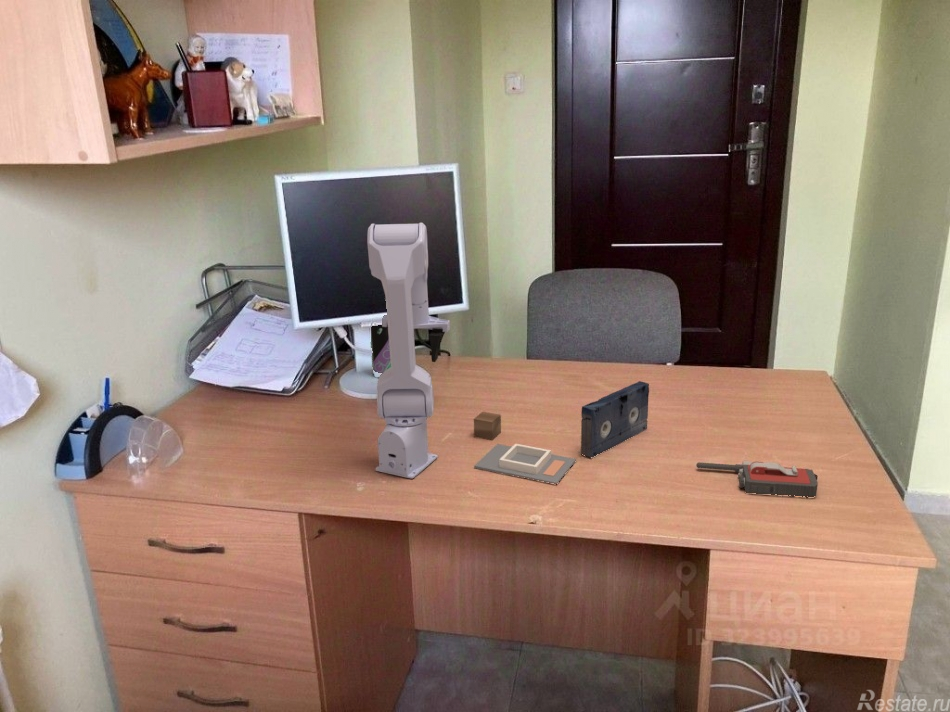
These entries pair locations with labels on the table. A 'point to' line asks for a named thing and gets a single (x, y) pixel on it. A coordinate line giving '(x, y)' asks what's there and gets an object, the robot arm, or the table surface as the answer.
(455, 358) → the table surface
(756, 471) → the walkie-talkie
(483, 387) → the table surface
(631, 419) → the vhs cassette tape
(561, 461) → the pocket board
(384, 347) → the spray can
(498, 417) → the walnut block
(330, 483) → the table surface
